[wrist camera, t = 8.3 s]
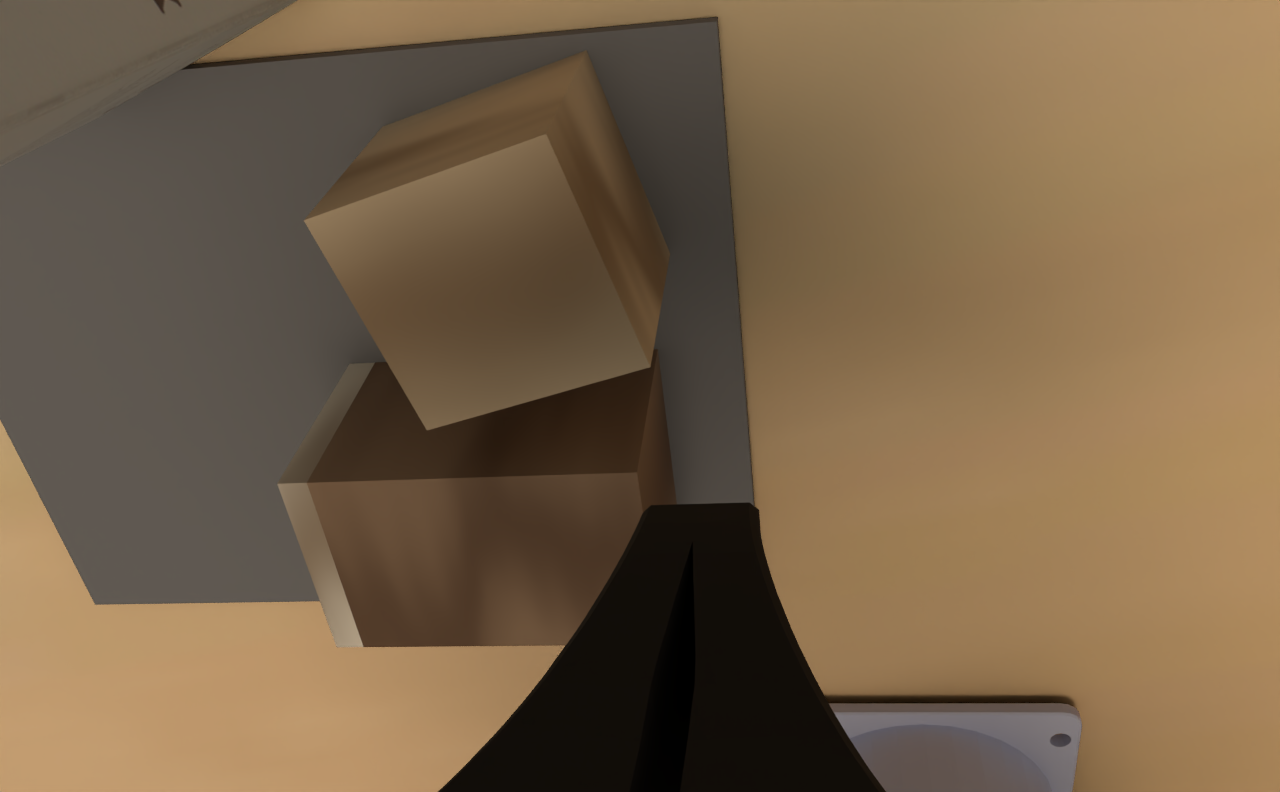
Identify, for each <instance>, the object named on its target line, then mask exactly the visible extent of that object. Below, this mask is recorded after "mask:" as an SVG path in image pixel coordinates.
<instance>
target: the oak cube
mask: <svg viewBox="0 0 1280 792" xmlns="http://www.w3.org/2000/svg"><path fill="white" fill-rule="evenodd" d="M304 222H305V224H306V225H307V227H308V229H309V230H310V232H311V234H312V235H313V237H314V239H315V241H316V242H317V244H318V246H319V247H320V249H321V251H322V253H323V254H324V256H325V258H326V259H327V261H328V263H329V264H330V266H331V268H332V270H333V271H334V273H335V275H336V276H337V278H338V280H339V281H340V283H341V285H342V287H343V288H344V290H345V292H346V293H347V295H348V297H349V299H350V300H351V302H352V304H353V305H354V307H355V309H356V310H357V312H358V314H359V316H360V317H361V319H362V321H363V322H364V324H365V326H366V328H367V329H368V331H369V333H370V334H371V336H372V338H373V339H374V341H375V343H376V345H377V346H378V348H379V350H380V351H381V353H382V355H383V356H384V358H385V360H386V362H387V363H388V365H389V367H390V368H391V370H392V372H393V374H394V375H395V377H396V379H397V380H398V382H399V384H400V385H401V387H402V389H403V391H404V392H405V394H406V396H407V397H408V399H409V401H410V403H411V404H412V406H413V408H414V409H415V411H416V413H417V414H418V416H419V418H420V420H421V421H422V423H423V425H424V426H425V428H426V430H431V429H434V428H438V427H441V426H445V425H448V424H452V423H455V422H459V421H462V420H466V419H469V418H473V417H476V416H480V415H483V414H487V413H490V412H494V411H497V410H501V409H505V408H508V407H512V406H515V405H519V404H522V403H526V402H529V401H533V400H536V399H540V398H543V397H547V396H550V395H554V394H557V393H561V392H564V391H568V390H572V389H575V388H579V387H582V386H586V385H589V384H593V383H596V382H600V381H603V380H607V379H610V378H614V377H617V376H621V375H624V374H628V373H631V372H635V371H639V370H642V369H646V368H649V367H651V361H652V355H653V350H654V344H655V338H656V332H657V327H658V321H659V315H660V310H661V304H662V298H663V292H664V287H665V281H666V275H667V269H668V264H669V258H670V252H669V249H668V247H667V245H666V242H665V240H664V237H663V235H662V232H661V230H660V228H659V225H658V223H657V220H656V218H655V215H654V213H653V211H652V208H651V206H650V203H649V201H648V198H647V196H646V194H645V191H644V189H643V186H642V184H641V181H640V179H639V177H638V174H637V172H636V169H635V167H634V164H633V162H632V160H631V157H630V155H629V152H628V150H627V147H626V145H625V143H624V140H623V138H622V135H621V133H620V130H619V128H618V126H617V123H616V121H615V118H614V116H613V113H612V111H611V109H610V106H609V104H608V101H607V99H606V96H605V94H604V92H603V89H602V87H601V84H600V82H599V79H598V77H597V75H596V72H595V70H594V67H593V65H592V62H591V60H590V58H589V55H588V53H587V50H585V51H583V52H580V53H577V54H575V55H572V56H569V57H567V58H564V59H561V60H559V61H556V62H553V63H551V64H548V65H545V66H543V67H540V68H537V69H535V70H532V71H529V72H527V73H524V74H521V75H519V76H516V77H513V78H511V79H508V80H505V81H503V82H500V83H498V84H495V85H492V86H490V87H487V88H484V89H482V90H479V91H476V92H474V93H471V94H468V95H466V96H463V97H460V98H458V99H455V100H452V101H450V102H447V103H444V104H442V105H439V106H436V107H434V108H431V109H428V110H426V111H423V112H420V113H418V114H415V115H412V116H410V117H407V118H404V119H402V120H399V121H396V122H394V123H391V124H388V125H386V126H383V127H382V128H381V129H380V130H379V131H378V132H377V134H376V135H375V136H374V137H373V138H372V140H371V141H370V142H369V143H368V144H367V146H366V147H365V148H364V149H363V150H362V152H361V153H360V154H359V155H358V156H357V157H356V159H355V160H354V161H353V162H352V163H351V165H350V166H349V167H348V168H347V169H346V171H345V172H344V173H343V174H342V175H341V177H340V178H339V179H338V180H337V181H336V183H335V184H334V185H333V186H332V187H331V189H330V190H329V191H328V192H327V193H326V194H325V196H324V197H323V198H322V199H321V200H320V202H319V203H318V204H317V205H316V206H315V208H314V209H313V210H312V211H311V212H310V214H309V215H308V216H307V217H306V218H305V220H304Z"/></svg>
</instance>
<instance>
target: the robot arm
mask: <svg viewBox="0 0 1280 792" xmlns="http://www.w3.org/2000/svg"><path fill="white" fill-rule="evenodd" d="M1081 730H1082V722H1081V718H1080V715H1079V711H1078V710H1077V709H1076V708H1075V707H1073V706H1071V705H1069V704H1063V703H828V701H827V700H826V698H825V696H824V694H823V692H822V691H821V689H820V687H819V685H818V683H817V681H816V679H815V677H814V675H813V673H812V671H811V669H810V667H809V665H808V663H807V661H806V659H805V657H804V655H803V653H802V651H801V649H800V647H799V645H798V643H797V640H796V638H795V636H794V634H793V631H792V629H791V627H790V624H789V622H788V619H787V617H786V614H785V612H784V609H783V607H782V604H781V602H780V599H779V597H778V594H777V592H776V589H775V586H774V583H773V580H772V577H771V574H770V570H769V567H768V564H767V560H766V557H765V553H764V549H763V545H762V540H761V533H760V519H759V510H758V509H757V508H756V507H755V506H753V505H752V504H751V503H749V502H746V503H709V504H672V505H651V506H649V507H648V508H647V509H646V510H645V511H644V512H643V514H642V516H641V518H640V520H639V523H638V525H637V527H636V529H635V531H634V533H633V535H632V537H631V539H630V541H629V543H628V545H627V547H626V549H625V551H624V553H623V555H622V556H621V558H620V560H619V562H618V564H617V565H616V567H615V569H614V571H613V572H612V574H611V576H610V578H609V579H608V581H607V583H606V584H605V586H604V588H603V589H602V591H601V593H600V594H599V596H598V597H597V599H596V601H595V602H594V604H593V605H592V607H591V609H590V610H589V612H588V613H587V615H586V617H585V618H584V620H583V621H582V623H581V624H580V626H579V627H578V629H577V630H576V632H575V633H574V635H573V636H572V637H571V639H570V640H569V642H568V643H567V644H566V646H565V647H564V649H563V650H562V651H561V653H560V654H559V656H558V657H557V658H556V660H555V661H554V663H553V664H552V665H551V667H550V668H549V670H548V671H547V672H546V674H545V675H544V676H543V678H542V679H541V680H540V681H539V683H538V684H537V685H536V686H535V688H534V689H533V690H532V692H531V693H530V694H529V695H528V696H527V698H526V699H525V700H524V701H523V703H522V704H521V705H520V706H519V707H518V709H517V710H516V711H515V712H514V713H513V714H512V715H511V717H510V718H509V719H508V720H507V721H506V722H505V724H504V725H503V726H502V727H501V728H500V729H499V730H498V731H497V733H496V734H495V735H494V736H493V737H492V738H491V739H490V740H489V741H488V742H487V743H486V744H485V745H484V746H483V747H482V748H481V749H480V750H479V752H478V753H477V754H476V755H475V756H474V757H473V758H472V759H471V760H470V761H469V762H468V763H467V764H466V765H465V766H464V767H463V768H462V769H461V770H460V771H459V772H458V773H457V774H456V775H455V776H454V777H453V778H452V779H451V780H450V781H449V782H448V783H447V784H446V785H445V786H444V787H443V788H442V789H440V790H439V791H438V792H1072V791H1073V784H1074V778H1075V771H1076V764H1077V757H1078V750H1079V743H1080V737H1081ZM1060 733H1063V734H1060ZM1055 734H1059V735H1055Z"/></svg>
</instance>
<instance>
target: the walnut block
mask: <svg viewBox="0 0 1280 792" xmlns="http://www.w3.org/2000/svg"><path fill="white" fill-rule="evenodd" d="M277 485H278V487H279V490H280V493H281V496H282V498H283V501H284V504H285V507H286V509H287V512H288V515H289V518H290V520H291V523H292V526H293V529H294V531H295V534H296V537H297V540H298V542H299V545H300V548H301V550H302V553H303V556H304V559H305V561H306V564H307V567H308V570H309V572H310V575H311V578H312V581H313V583H314V586H315V589H316V592H317V594H318V597H319V600H320V603H321V605H322V608H323V611H324V614H325V616H326V619H327V622H328V625H329V627H330V630H331V633H332V636H333V638H334V641H335V644H336V646H337V647H422V646H538V645H566V644H567V643H568V642H569V640H570V639H571V637H572V636H573V635H574V633H575V632H576V630H577V629H578V627H579V626H580V624H581V623H582V621H583V620H584V618H585V617H586V615H587V613H588V612H589V610H590V609H591V607H592V605H593V604H594V602H595V601H596V599H597V597H598V596H599V594H600V593H601V591H602V589H603V588H604V586H605V584H606V583H607V581H608V579H609V578H610V576H611V574H612V572H613V571H614V569H615V567H616V565H617V564H618V562H619V560H620V558H621V556H622V555H623V553H624V551H625V549H626V547H627V545H628V543H629V541H630V539H631V537H632V535H633V533H634V531H635V529H636V527H637V525H638V523H639V520H640V518H641V516H642V514H643V512H644V511H645V510H646V509H647V508H648V507H649V506H651V505H672V504H677V501H676V493H675V485H674V477H673V469H672V461H671V452H670V444H669V436H668V428H667V420H666V412H665V404H664V395H663V387H662V379H661V371H660V363H659V355H658V349H654V350H653V355H652V361H651V367H649V368H646V369H642V370H639V371H635V372H631V373H628V374H624V375H621V376H617V377H614V378H610V379H607V380H603V381H600V382H596V383H593V384H589V385H586V386H582V387H579V388H575V389H572V390H568V391H564V392H561V393H557V394H554V395H550V396H547V397H543V398H540V399H536V400H533V401H529V402H526V403H522V404H519V405H515V406H512V407H508V408H505V409H501V410H497V411H494V412H490V413H487V414H483V415H480V416H476V417H473V418H469V419H466V420H462V421H459V422H455V423H452V424H448V425H445V426H441V427H438V428H434V429H431V430H426V428H425V426H424V425H423V423H422V421H421V420H420V418H419V416H418V414H417V413H416V411H415V409H414V408H413V406H412V404H411V403H410V401H409V399H408V397H407V396H406V394H405V392H404V391H403V389H402V387H401V385H400V384H399V382H398V380H397V379H396V377H395V375H394V374H393V372H392V370H391V368H390V367H389V365H388V363H387V362H376V363H355V364H349V365H348V367H347V369H346V370H345V372H344V374H343V375H342V377H341V379H340V380H339V382H338V384H337V385H336V387H335V389H334V390H333V392H332V394H331V395H330V397H329V399H328V400H327V402H326V404H325V405H324V407H323V409H322V410H321V412H320V414H319V415H318V417H317V419H316V420H315V422H314V424H313V425H312V427H311V429H310V430H309V432H308V433H307V435H306V437H305V438H304V440H303V442H302V443H301V445H300V447H299V448H298V450H297V452H296V453H295V455H294V457H293V458H292V460H291V462H290V463H289V465H288V467H287V468H286V470H285V472H284V473H283V475H282V477H281V478H280V480H279V482H278V483H277Z"/></svg>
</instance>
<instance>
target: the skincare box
mask: <svg viewBox="0 0 1280 792" xmlns="http://www.w3.org/2000/svg"><path fill="white" fill-rule="evenodd" d="M295 1H297V0H0V166H2V165H4V164H6V163H8V162H10V161H12V160H14V159H16V158H18V157H20V156H22V155H24V154H26V153H28V152H30V151H32V150H34V149H36V148H38V147H40V146H42V145H44V144H46V143H48V142H50V141H52V140H54V139H56V138H58V137H60V136H63V135H65V134H67V133H69V132H71V131H73V130H75V129H77V128H79V127H81V126H83V125H85V124H86V123H88V122H90V121H92V120H94V119H96V118H98V117H100V116H102V115H104V114H106V113H107V112H109V111H111V110H112V109H114V108H116V107H117V106H119V105H121V104H123V103H124V102H126V101H128V100H129V99H131V98H133V97H135V96H136V95H138V94H140V93H141V92H143V91H145V90H146V89H148V88H150V87H152V86H153V85H155V84H157V83H158V82H160V81H162V80H164V79H165V78H167V77H169V76H170V75H172V74H174V73H176V72H177V71H179V70H181V69H182V68H184V67H186V66H188V65H189V64H191V63H193V62H194V61H196V60H198V59H200V58H201V57H203V56H205V55H206V54H208V53H210V52H212V51H213V50H215V49H217V48H218V47H220V46H222V45H224V44H225V43H227V42H229V41H230V40H232V39H234V38H235V37H237V36H239V35H240V34H242V33H244V32H245V31H247V30H249V29H250V28H252V27H254V26H255V25H257V24H259V23H260V22H262V21H264V20H265V19H267V18H269V17H270V16H272V15H274V14H275V13H277V12H279V11H280V10H282V9H284V8H285V7H287V6H289V5H290V4H292V3H294V2H295Z"/></svg>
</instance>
